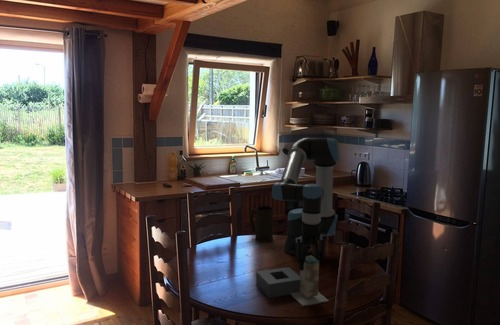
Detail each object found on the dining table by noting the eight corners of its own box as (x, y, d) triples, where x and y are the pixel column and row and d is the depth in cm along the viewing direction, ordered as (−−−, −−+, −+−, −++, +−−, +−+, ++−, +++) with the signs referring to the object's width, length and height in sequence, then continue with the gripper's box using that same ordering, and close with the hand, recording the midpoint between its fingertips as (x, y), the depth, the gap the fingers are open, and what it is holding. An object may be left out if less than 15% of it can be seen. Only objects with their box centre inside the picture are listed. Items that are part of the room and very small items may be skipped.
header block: (288, 279, 189) (288, 267, 188) (302, 292, 176) (303, 279, 175) (256, 284, 183) (256, 271, 183) (268, 297, 170) (269, 284, 170)
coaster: (313, 289, 179) (313, 288, 179) (328, 301, 168) (328, 300, 168) (289, 293, 175) (289, 292, 175) (302, 306, 164) (302, 304, 164)
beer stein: (276, 238, 248) (274, 205, 246) (271, 243, 238) (269, 209, 236) (252, 236, 254) (250, 205, 251) (246, 242, 244) (244, 209, 241)
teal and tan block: (310, 288, 175) (311, 255, 173) (317, 295, 169) (319, 260, 167) (299, 290, 173) (300, 256, 171) (307, 297, 167) (308, 262, 165)
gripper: (325, 217, 174) (323, 270, 177) (287, 221, 167) (285, 275, 170) (335, 222, 167) (332, 276, 170) (295, 226, 160) (293, 283, 163)
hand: (309, 276), depth 170 cm, fingers closed on teal and tan block, 5 cm apart
